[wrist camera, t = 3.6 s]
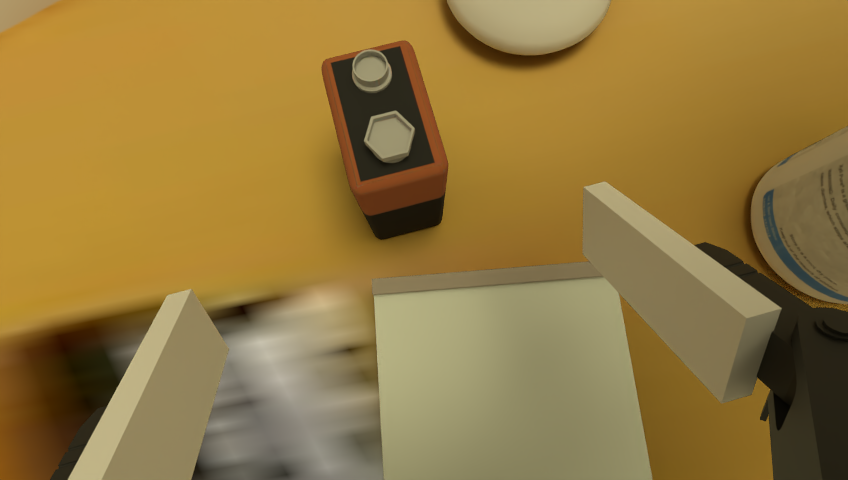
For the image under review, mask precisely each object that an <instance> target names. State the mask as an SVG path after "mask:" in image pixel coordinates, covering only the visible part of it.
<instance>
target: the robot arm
mask: <svg viewBox="0 0 848 480" xmlns="http://www.w3.org/2000/svg"><path fill="white" fill-rule="evenodd" d="M583 255H584V256H585V257H586V258H587V259H588V260H589V261H590V262H591V264H592V265H593V266H594V267H595V268H596V269H597V270H598V271H599V272H600V273H601V274H602V275H603V276H604V278H605V279H606V280H607V281H608V282H609V283H610V284H611V285H612V286H613V287H614V288H615V289H616V290H617V292H618V293H619V294H620V295H621V296H622V297H623V298H624V299H625V300H626V301H627V302H628V303H629V304H630V306H631V307H632V308H633V309H634V310H635V311H636V312H637V313H638V314H639V315H640V316H641V317H642V318H643V320H644V321H645V322H646V323H647V324H648V325H649V326H650V327H651V328H652V329H653V330H654V331H655V332H656V334H657V335H658V336H659V337H660V338H661V339H662V340H663V341H664V342H665V343H666V344H667V345H668V346H669V348H670V349H671V350H672V351H673V352H674V353H675V354H676V355H677V356H678V357H679V358H680V359H681V360H682V362H683V363H684V364H685V365H686V366H687V367H688V368H689V369H690V370H691V371H692V372H693V373H694V375H695V376H696V377H697V378H698V379H699V380H700V381H701V382H702V383H703V384H704V385H705V386H706V387H707V389H708V390H709V391H710V392H711V393H712V394H713V395H714V396H715V397H716V398H717V399H718V400H719V401H720V403H725V402H728V401H732V400H735V399H738V398H742V397H745V396H749V395H752V392H753V389H754V386H755V383H756V380H757V377H758V378H759V379H760V380H761V381H762V382H763V383H764V384H765V385H766V386H767V387H769V388H770V389H771V390H770V392H769V395H768V397H767V400H766V403H765V405H764V408H763V410H762V413H761V417H760V420H763V421H766V420H767V417H768V414H769V424H770V438H771V451H772V465H773V478H774V480H848V312H846V311H842V310H838V309H834V308H821V307H818V308H812V307H811V306H809V305H808V304H806V303H805V302H803V301H802V300H800V299H799V298H797V297H796V296H794V295H793V294H791V293H790V292H788V291H787V290H785V289H784V288H782V287H781V286H779V285H778V284H776V283H775V282H773V281H772V280H770V279H769V278H767V277H766V276H764V275H763V274H761V273H757V270H755V269H754V268H753V267H751V266H750V265H748V264H744V263H743V261H742V260H741V259H739V258H738V257H736V256H735V255H733V254H732V253H730V252H729V251H727V250H725V249H722V248H720V247H717V246H714V245H711V244H709V243H706V242H704V243H701V244H697V245H693V244H691V243H690V242H689V241H687V240H686V239H685V238H683V237H682V236H680V235H679V234H678V233H676V232H675V231H673V230H672V229H671V228H669V227H668V226H666V225H665V224H664V223H662V222H661V221H660V220H658V219H657V218H655V217H654V216H653V215H651V214H650V213H648V212H647V211H646V210H644V209H643V208H641V207H640V206H639V205H637V204H636V203H635V202H633V201H632V200H630V199H629V198H628V197H626V196H625V195H623V194H622V193H621V192H619V191H618V190H616V189H615V188H614V187H612V186H611V185H610V184H608V183H607V182H601V183H597V184H594V185H590V186H586V187H584V193H583ZM228 351H229V348H228V347H227V345H226V344H225V342H224V340H223V339H222V337H221V335H220V334H219V332H218V331H217V329H216V327H215V326H214V324H213V323H212V321H211V319H210V318H209V316H208V315H207V313H206V311H205V310H204V308H203V307H202V305H201V303H200V302H199V300H198V299H197V297H196V295H195V294H194V292H193V291H192V289H189V290H186V291H182V292H178V293H174V294H170V295H167V297H166V299H165V301H164V302H163V304H162V306H161V308H160V310H159V312H158V314H157V315H156V317H155V319H154V321H153V323H152V325H151V327H150V328H149V330H148V332H147V334H146V336H145V338H144V339H143V341H142V343H141V345H140V347H139V349H138V351H137V352H136V354H135V356H134V358H133V360H132V362H131V364H130V365H129V367H128V369H127V371H126V373H125V375H124V376H123V378H122V380H121V382H120V384H119V386H118V388H117V389H116V391H115V393H114V395H113V397H112V399H111V401H110V402H109V404H108V406H105V407H101V408H98V409H97V410H96V411H95V412H94V413H93V414H92V415H91V416H90V418H89V419H88V420H87V421H86V422H85V423H84V424H83V425H82V426H81V427H80V429H79V430H78V432H77V434H76V436H75V437H74V439H73V441H72V442H71V444H70V446H69V448H68V449H69V451H68V452H66V453H65V455H64V456H63V458H62V460H61V462H60V463H59V465H58V466H59V469H57V470H55V472H54V474H53V475H52V477H51V479H50V480H191V478H192V475H193V471H194V468H195V464H196V461H197V457H198V454H199V450H200V447H201V444H202V440H203V437H204V433H205V430H206V426H207V423H208V419H209V416H210V413H211V409H212V406H213V402H214V399H215V395H216V392H217V388H218V385H219V382H220V378H221V375H222V371H223V368H224V364H225V361H226V357H227V354H228Z"/></svg>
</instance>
